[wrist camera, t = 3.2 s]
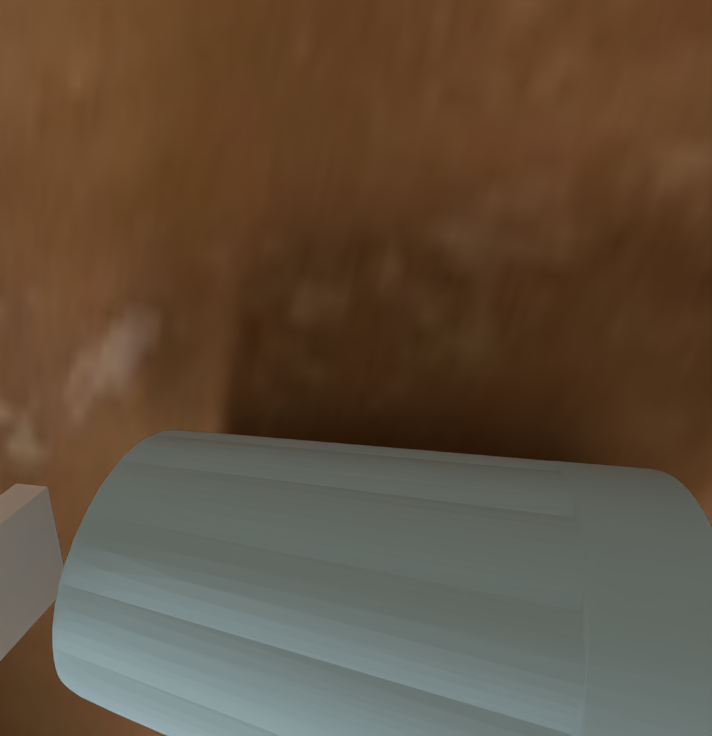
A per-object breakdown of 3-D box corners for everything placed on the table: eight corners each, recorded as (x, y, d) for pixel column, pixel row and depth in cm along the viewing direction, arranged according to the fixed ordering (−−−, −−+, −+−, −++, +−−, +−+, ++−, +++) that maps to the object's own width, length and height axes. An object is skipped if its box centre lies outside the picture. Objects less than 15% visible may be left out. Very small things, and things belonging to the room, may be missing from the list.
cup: (209, 326, 14) (648, 402, 12) (216, 553, 17) (559, 634, 16) (-54, 539, 7) (850, 764, 6) (44, 842, 10) (616, 1032, 9)
